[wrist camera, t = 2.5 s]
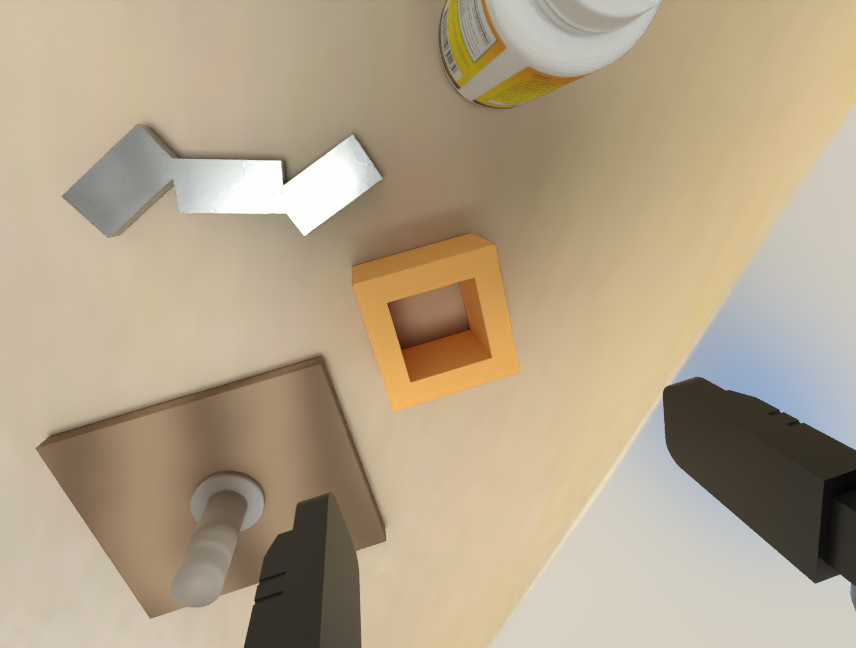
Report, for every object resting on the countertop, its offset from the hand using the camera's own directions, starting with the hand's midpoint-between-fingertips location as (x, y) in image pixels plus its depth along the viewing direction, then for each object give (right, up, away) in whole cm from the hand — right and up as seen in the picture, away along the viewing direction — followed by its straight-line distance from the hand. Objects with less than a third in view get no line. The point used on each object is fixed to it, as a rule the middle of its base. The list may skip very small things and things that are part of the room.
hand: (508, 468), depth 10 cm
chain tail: (-11, +10, +10) cm, 17 cm away
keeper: (-13, -6, +14) cm, 20 cm away
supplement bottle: (+1, +16, +10) cm, 19 cm away
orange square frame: (-2, +4, +13) cm, 14 cm away
